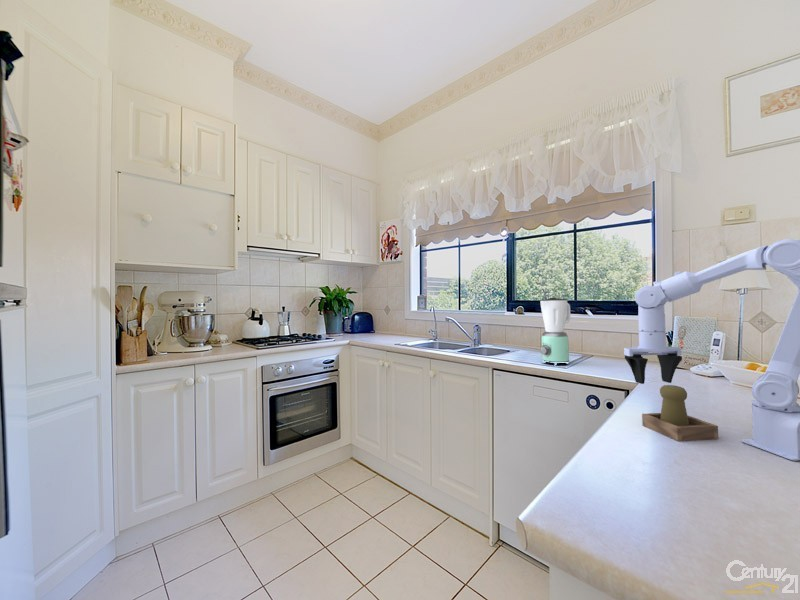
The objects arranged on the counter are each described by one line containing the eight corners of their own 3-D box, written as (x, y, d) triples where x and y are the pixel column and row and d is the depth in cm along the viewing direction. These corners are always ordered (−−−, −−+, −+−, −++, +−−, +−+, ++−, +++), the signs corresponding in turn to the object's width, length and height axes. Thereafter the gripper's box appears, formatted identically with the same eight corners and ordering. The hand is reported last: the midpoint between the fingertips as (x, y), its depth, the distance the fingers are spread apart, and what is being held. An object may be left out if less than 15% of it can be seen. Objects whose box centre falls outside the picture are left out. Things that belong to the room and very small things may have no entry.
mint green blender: (553, 367, 165) (551, 297, 166) (533, 363, 177) (531, 298, 178) (580, 364, 172) (578, 297, 173) (559, 360, 184) (557, 298, 185)
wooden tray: (718, 439, 76) (717, 426, 76) (677, 441, 75) (677, 427, 75) (678, 423, 86) (678, 412, 86) (642, 425, 85) (642, 413, 85)
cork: (695, 436, 77) (693, 389, 77) (663, 433, 80) (661, 387, 80) (685, 427, 83) (683, 384, 83) (655, 424, 85) (654, 382, 85)
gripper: (664, 329, 92) (665, 378, 92) (615, 330, 91) (616, 379, 91) (688, 331, 85) (689, 384, 85) (635, 332, 84) (636, 386, 84)
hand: (653, 382), depth 87 cm, fingers open, 7 cm apart
